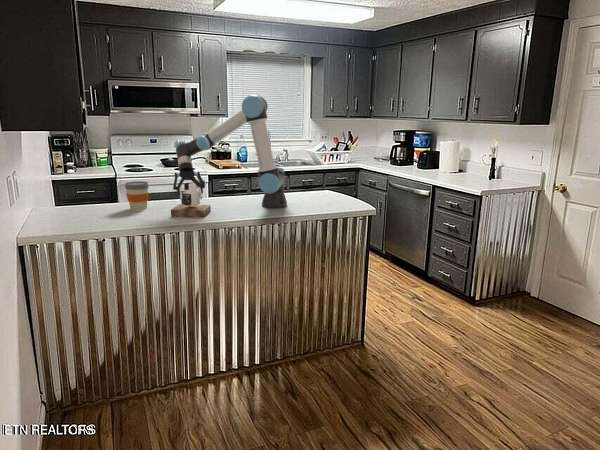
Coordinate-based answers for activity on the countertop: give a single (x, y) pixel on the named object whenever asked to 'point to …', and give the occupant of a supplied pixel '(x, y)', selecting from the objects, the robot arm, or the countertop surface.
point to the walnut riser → (191, 211)
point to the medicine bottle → (190, 195)
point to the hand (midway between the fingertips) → (191, 198)
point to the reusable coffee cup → (137, 194)
